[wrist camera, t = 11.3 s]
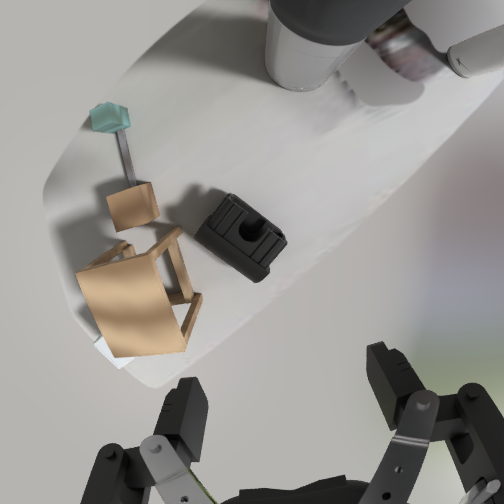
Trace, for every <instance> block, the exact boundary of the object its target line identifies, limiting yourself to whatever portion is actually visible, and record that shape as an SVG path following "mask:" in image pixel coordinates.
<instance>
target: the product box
mask: <svg viewBox="0 0 504 504" xmlns="http://www.w3.org/2000/svg"><path fill="white" fill-rule="evenodd" d="M93 345H94V346H95V347H96V348H97V349H98V350H99V351H100V352H101V353H102V354H103V355H104V356H105V357H106V358H107V359H108V360H109V361H111V362H112V363H113V364H114V365H115V366H116V367H117V368H118V369H119V368H121V367H123V366H124V365H126V364H127V363H128V362H130V361H131V360H133V359H134V358H136V357H124V358H114V356H113V355H112V353H111V351H110V349H109V347H108V345H107V343H106V341H105V339H104V337H103V335H102V333H101V334H100V336H99V337H98V338H97V340H96V341H95V342H94V344H93Z"/></svg>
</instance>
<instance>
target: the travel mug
mask: <svg viewBox="0 0 504 504" xmlns="http://www.w3.org/2000/svg"><path fill="white" fill-rule="evenodd" d="M447 57H448V61H449V63H450V65H451V67H452V68H453V70H454V71H455V72H456V73H457V74H458V75H459V76H461V77H463V78H470V77H474V76H478V75H482V74H486V73H490V72H494V71H498V70H502V69H504V25H501V26H498V27H496V28H493V29H490V30H488V31H486V32H483V33H481V34H478V35H476V36H474V37H471V38H469V39H467V40H464V41H462V42H460V43H458V44H456V45H454V46H451V47H450V48H449V49H448V52H447Z"/></svg>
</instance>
